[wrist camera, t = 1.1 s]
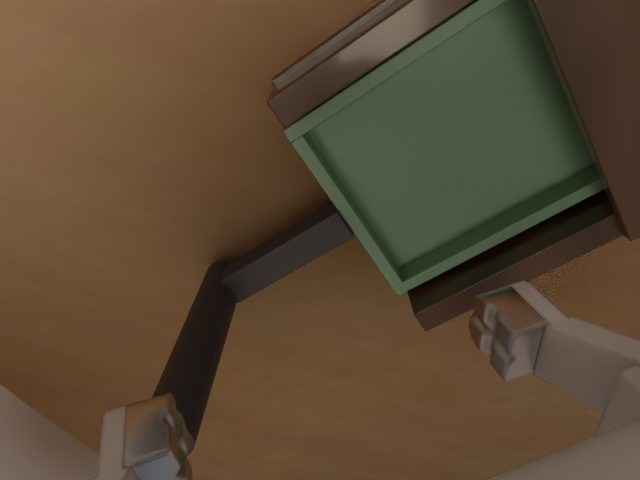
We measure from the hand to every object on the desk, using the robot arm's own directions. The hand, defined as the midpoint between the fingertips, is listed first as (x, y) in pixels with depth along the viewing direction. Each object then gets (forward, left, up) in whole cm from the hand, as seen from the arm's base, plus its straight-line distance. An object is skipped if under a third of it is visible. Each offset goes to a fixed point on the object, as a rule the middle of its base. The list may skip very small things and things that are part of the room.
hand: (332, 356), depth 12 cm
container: (-2, -4, -19) cm, 20 cm away
